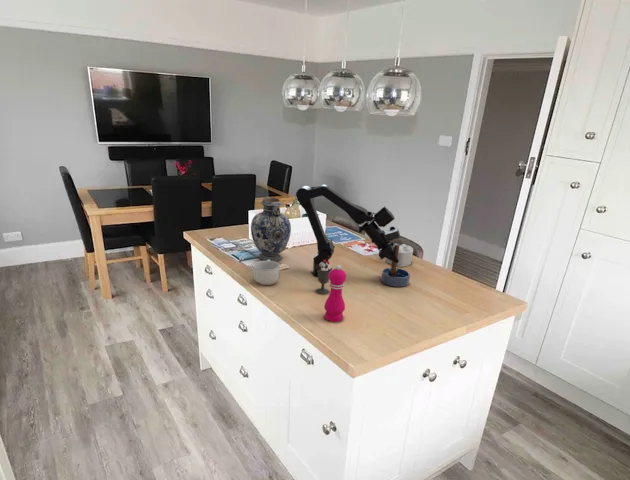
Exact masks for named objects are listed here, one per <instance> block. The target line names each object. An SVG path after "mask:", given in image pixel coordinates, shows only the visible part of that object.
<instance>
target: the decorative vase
mask: <svg viewBox="0 0 630 480" xmlns="http://www.w3.org/2000/svg"><path fill="white" fill-rule="evenodd" d="M260 204H261V205H262V206H263V208H262V210H263V211H261V212H259V213H256V214H255V215H254V216H253V218H252V219H251V224H250V232H251V238H252V241H253V243H254V246H255V247H256V249H257V250H258V251H259V253H260V254H258V258H259V259H260V260H261V261H267V260H271V261H275V262H278V261H280V260H282V256H281V253H283V252H284V251H285V250H286V249H287V246H288V243H289V241H290V237H291V233H292V225H291V221H290V219H289V217H287V216H286V214H284V213H281V207H280V206H282V205H283V202H281V200H280V199H279V198H276V197H269V196H267V195H266V196H265V198H263V199H262V201H260Z"/></svg>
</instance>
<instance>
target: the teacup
mask: <svg viewBox="0 0 630 480" xmlns="http://www.w3.org/2000/svg"><path fill="white" fill-rule="evenodd" d="M252 271H253V279H254V280H255V282H257V283H258V284H260V285H262V286H270V285H273V284H275V283H276V282H277V281H279V278H280V263H279V262H278V261H271V260H267V261H265V260H260V261H256V262H254V263H253V264H252Z"/></svg>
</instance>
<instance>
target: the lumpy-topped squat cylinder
mask: <svg viewBox="0 0 630 480" xmlns="http://www.w3.org/2000/svg"><path fill="white" fill-rule="evenodd" d="M395 244H396V243H394V245H395ZM394 245H393V246H394ZM399 245H400V246H399V253H398V259H399V260H398V261H399V262H398V263H397V266H396V268H401V267H402V268H403V267H407V266H411V264H412V260H413V255H414V248H413V247H412V246H411V245H407V244H405V243H402V244H399ZM386 263H387V264H390V265H392V260H389V259H387V258H386Z"/></svg>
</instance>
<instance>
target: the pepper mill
mask: <svg viewBox="0 0 630 480" xmlns="http://www.w3.org/2000/svg"><path fill="white" fill-rule="evenodd" d="M328 281H329V285H328V286H329V288H330V291H329V295H328V297H327V299H326V300H325V303H324V310H325V312H324V313H325V314H324V318H325V319H326V320H327V321H328V322H332V323H337V322H341V321H342V320H343V318H344V314H343V313H344V311H345V310H346V304H345V300H344V297H343V289H344V288H345V286H344V285H345V281H347V273H346V272H345V271H344V270H343V269H342V266H341V265H340V264H337V265H335V268H332V270H331V271H330V273H329V280H328Z"/></svg>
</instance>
